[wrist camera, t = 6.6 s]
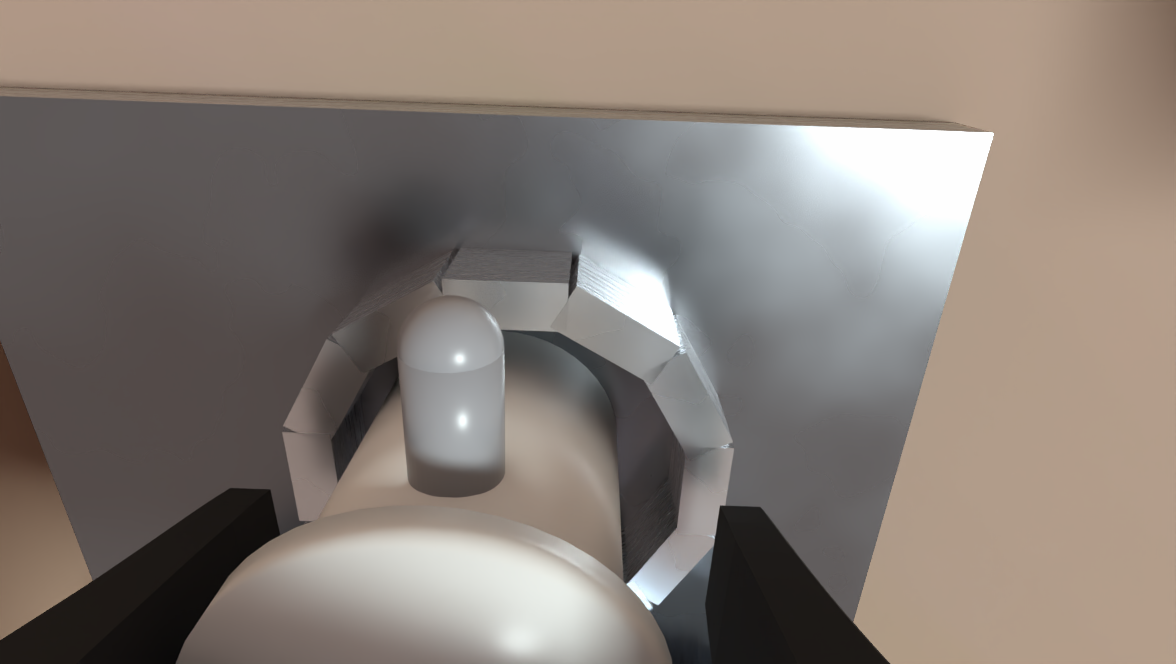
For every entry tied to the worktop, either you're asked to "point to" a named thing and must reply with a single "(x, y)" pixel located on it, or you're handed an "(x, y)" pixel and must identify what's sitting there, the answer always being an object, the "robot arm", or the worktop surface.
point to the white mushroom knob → (454, 523)
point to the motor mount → (493, 279)
